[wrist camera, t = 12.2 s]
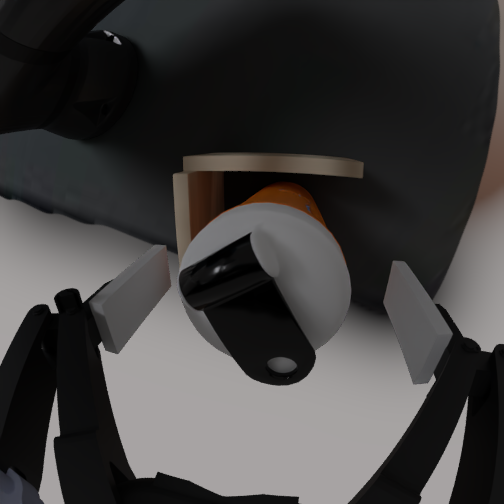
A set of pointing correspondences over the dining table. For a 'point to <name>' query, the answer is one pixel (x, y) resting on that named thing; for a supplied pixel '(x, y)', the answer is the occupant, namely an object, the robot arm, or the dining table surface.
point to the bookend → (214, 164)
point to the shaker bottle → (267, 283)
